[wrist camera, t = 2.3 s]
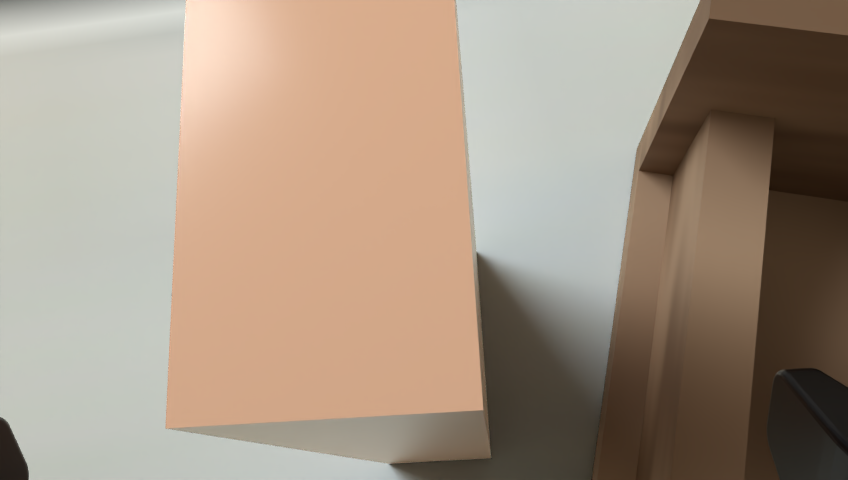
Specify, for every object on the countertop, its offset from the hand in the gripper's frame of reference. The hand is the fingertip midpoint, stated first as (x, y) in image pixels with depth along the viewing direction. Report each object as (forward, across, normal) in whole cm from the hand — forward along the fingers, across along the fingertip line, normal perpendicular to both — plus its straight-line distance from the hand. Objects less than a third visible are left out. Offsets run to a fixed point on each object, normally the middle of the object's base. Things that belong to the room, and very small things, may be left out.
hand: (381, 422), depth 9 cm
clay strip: (+8, 0, +5) cm, 10 cm away
